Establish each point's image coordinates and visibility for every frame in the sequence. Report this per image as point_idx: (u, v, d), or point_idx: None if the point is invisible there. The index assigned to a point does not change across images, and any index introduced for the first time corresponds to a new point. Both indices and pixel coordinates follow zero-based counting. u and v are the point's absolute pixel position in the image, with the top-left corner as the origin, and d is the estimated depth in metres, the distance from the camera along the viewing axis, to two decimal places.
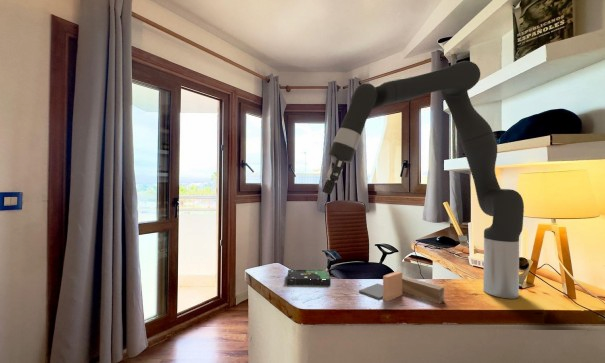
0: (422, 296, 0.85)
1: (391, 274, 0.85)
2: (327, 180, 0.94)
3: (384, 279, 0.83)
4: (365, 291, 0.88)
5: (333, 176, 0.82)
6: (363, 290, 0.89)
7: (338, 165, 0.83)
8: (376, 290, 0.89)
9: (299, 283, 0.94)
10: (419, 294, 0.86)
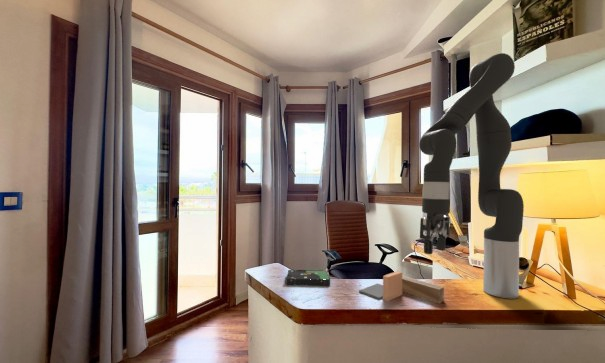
0: (422, 296, 0.85)
1: (391, 274, 0.85)
2: (438, 236, 0.88)
3: (384, 279, 0.83)
4: (365, 291, 0.88)
5: (422, 236, 0.80)
6: (363, 290, 0.89)
7: (424, 223, 0.80)
8: (376, 290, 0.89)
9: (299, 283, 0.94)
10: (419, 294, 0.86)
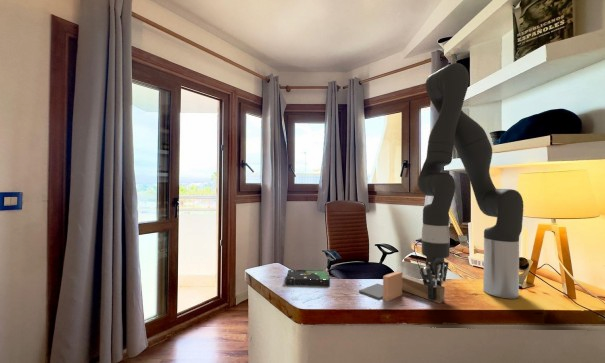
0: (422, 295, 0.85)
1: (391, 274, 0.85)
2: None
3: (384, 279, 0.83)
4: (365, 291, 0.88)
5: (426, 283, 0.81)
6: (363, 290, 0.89)
7: (425, 274, 0.80)
8: (376, 290, 0.89)
9: (298, 283, 0.94)
10: (419, 293, 0.86)
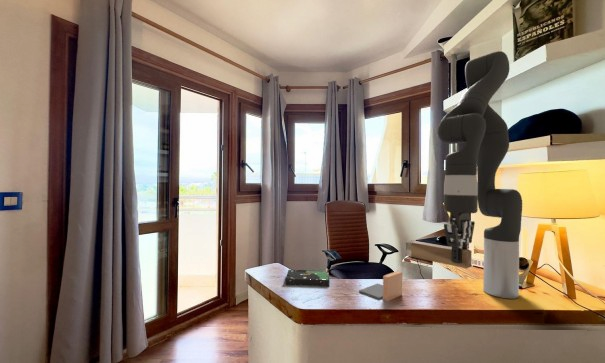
0: (445, 262, 0.73)
1: (391, 274, 0.85)
2: None
3: (384, 279, 0.83)
4: (365, 291, 0.88)
5: (450, 243, 0.69)
6: (363, 290, 0.89)
7: (449, 231, 0.68)
8: (376, 290, 0.89)
9: (298, 283, 0.94)
10: (442, 260, 0.73)
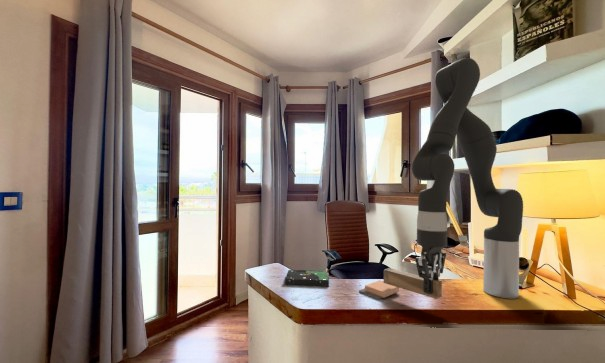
0: (418, 291, 0.78)
1: None
2: None
3: (367, 290, 0.88)
4: (365, 291, 0.88)
5: (422, 275, 0.74)
6: (363, 290, 0.89)
7: (420, 265, 0.73)
8: None
9: (297, 283, 0.94)
10: (415, 289, 0.79)
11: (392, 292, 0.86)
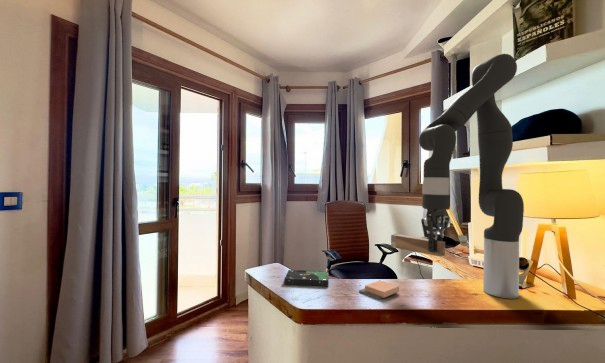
0: (423, 251, 0.85)
1: None
2: None
3: (367, 290, 0.88)
4: (365, 291, 0.88)
5: (427, 235, 0.82)
6: (363, 290, 0.89)
7: (425, 225, 0.80)
8: None
9: (297, 283, 0.94)
10: (420, 250, 0.86)
11: (392, 292, 0.86)
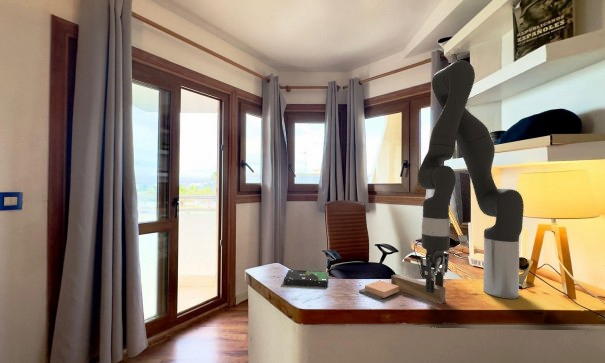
0: (423, 296, 0.85)
1: None
2: (436, 273, 0.87)
3: (367, 290, 0.88)
4: (365, 291, 0.88)
5: (424, 276, 0.81)
6: (363, 290, 0.89)
7: (424, 264, 0.80)
8: None
9: (296, 284, 0.94)
10: (420, 294, 0.86)
11: (392, 292, 0.86)
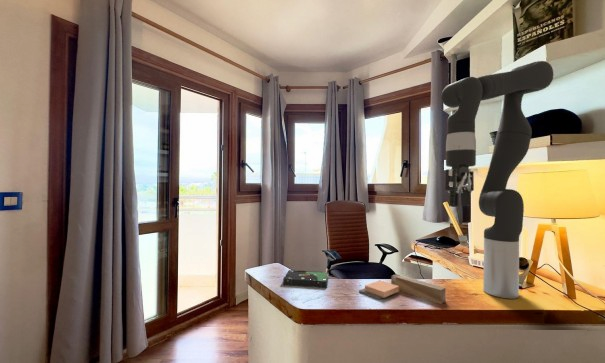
0: (423, 296, 0.85)
1: None
2: (462, 191, 0.85)
3: (367, 290, 0.88)
4: (365, 291, 0.88)
5: (448, 187, 0.77)
6: (363, 290, 0.89)
7: (449, 174, 0.77)
8: None
9: (295, 284, 0.94)
10: (420, 294, 0.86)
11: (392, 292, 0.86)
